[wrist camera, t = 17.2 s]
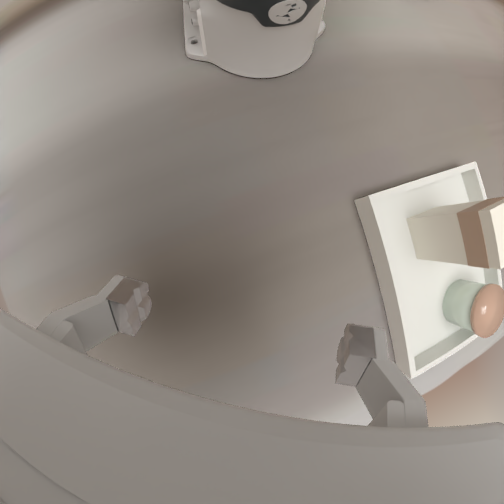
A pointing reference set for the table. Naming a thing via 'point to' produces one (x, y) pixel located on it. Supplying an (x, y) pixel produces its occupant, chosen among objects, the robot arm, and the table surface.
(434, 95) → the table surface
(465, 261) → the juice carton
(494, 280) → the tray
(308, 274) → the table surface
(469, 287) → the lidded jar
